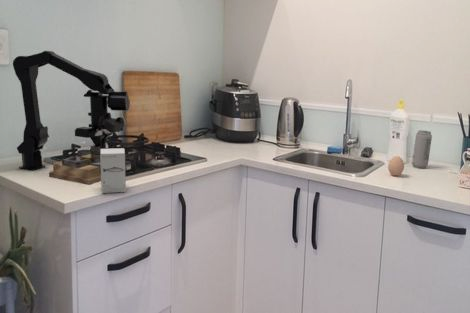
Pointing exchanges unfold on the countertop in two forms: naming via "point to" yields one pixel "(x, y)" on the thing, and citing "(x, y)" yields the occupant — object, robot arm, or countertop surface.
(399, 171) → the egg
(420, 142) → the energy drink can
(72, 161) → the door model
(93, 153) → the yellow and black block
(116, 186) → the supplement box
